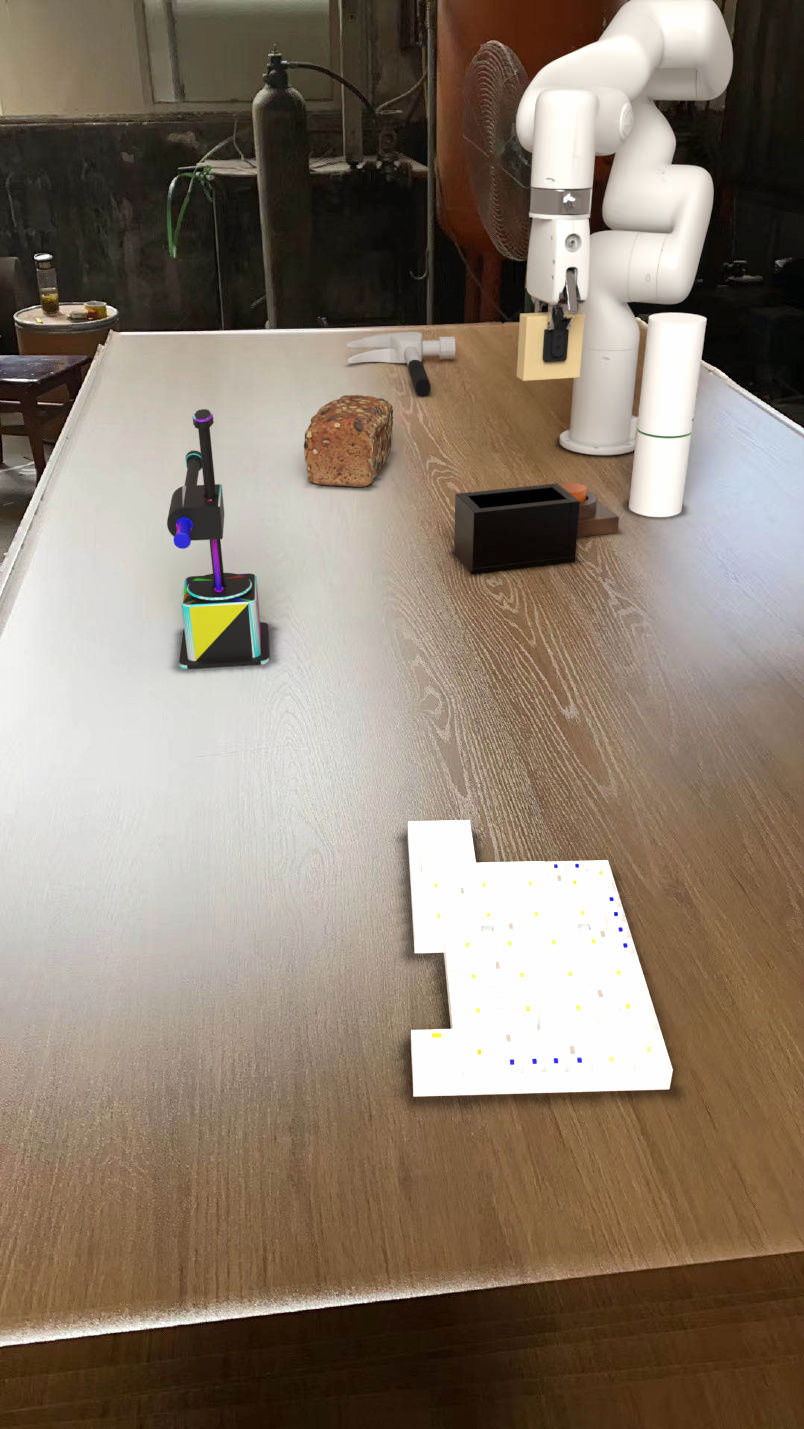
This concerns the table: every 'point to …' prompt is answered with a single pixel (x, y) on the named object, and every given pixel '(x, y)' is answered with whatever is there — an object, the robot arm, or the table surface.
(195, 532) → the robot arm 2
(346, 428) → the bread
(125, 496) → the table surface
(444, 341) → the claw hammer
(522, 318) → the toast
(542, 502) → the toaster
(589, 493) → the control block
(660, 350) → the cylindrical container
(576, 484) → the button
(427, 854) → the floor plan model
